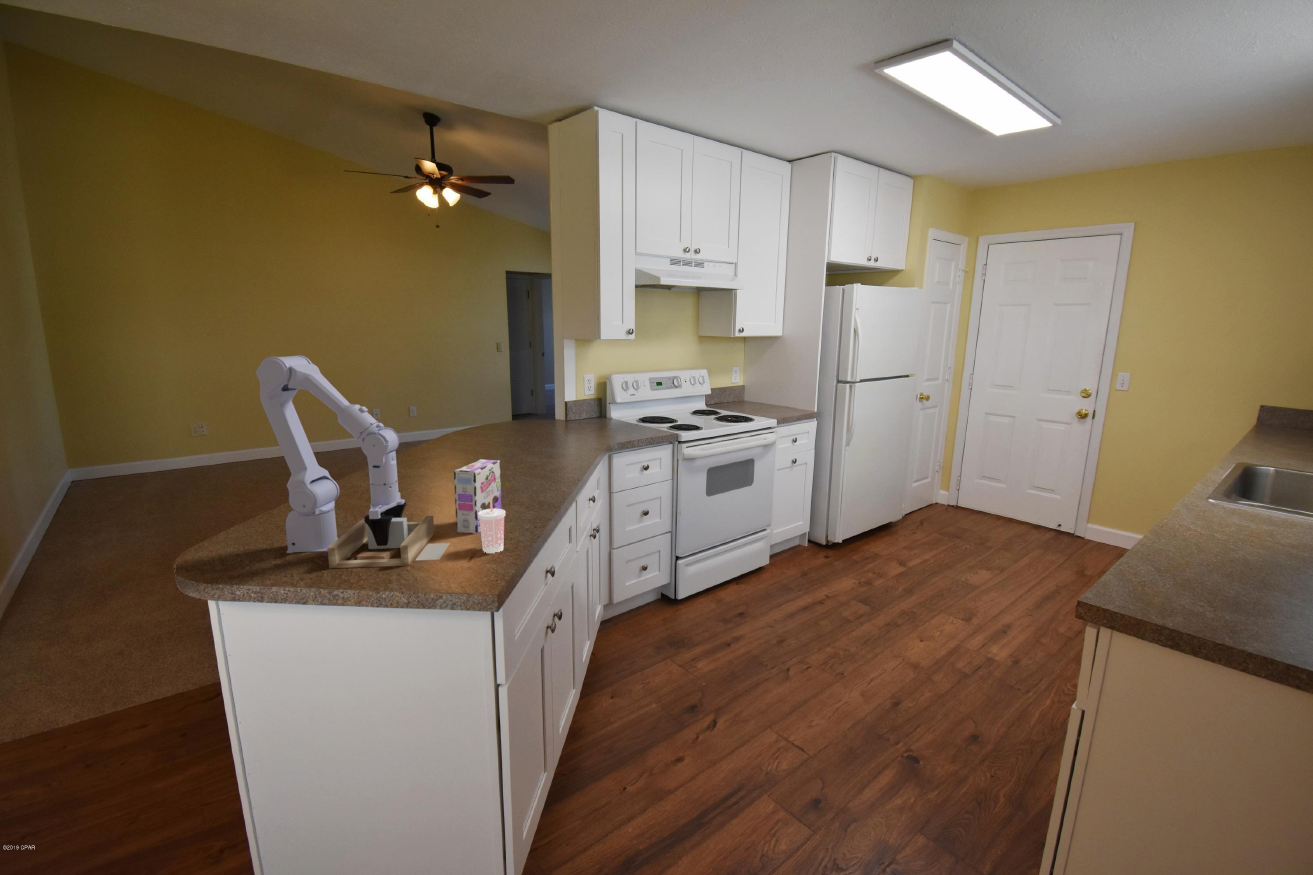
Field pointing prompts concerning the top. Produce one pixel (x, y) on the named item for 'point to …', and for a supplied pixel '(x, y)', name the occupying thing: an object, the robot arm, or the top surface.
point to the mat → (432, 551)
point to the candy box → (476, 493)
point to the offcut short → (373, 555)
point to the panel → (391, 534)
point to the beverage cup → (492, 528)
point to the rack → (409, 550)
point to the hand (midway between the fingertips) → (388, 539)
